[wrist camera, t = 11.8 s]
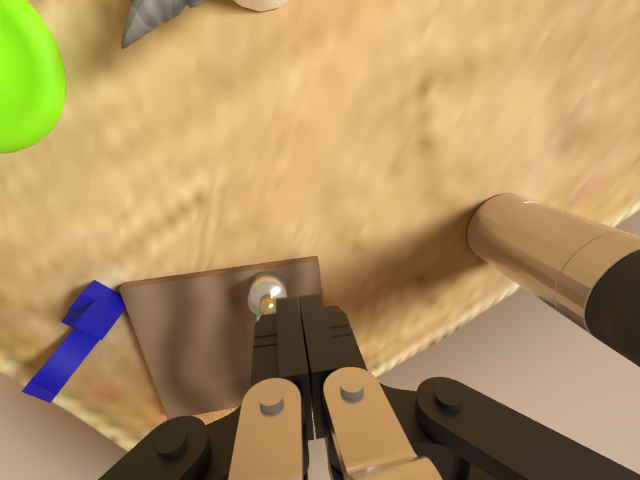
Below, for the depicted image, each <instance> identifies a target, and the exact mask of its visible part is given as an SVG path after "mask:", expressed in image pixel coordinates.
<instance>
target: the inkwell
mask: <svg viewBox="0 0 640 480" xmlns="http://www.w3.org/2000/svg"><path fill="white" fill-rule="evenodd" d="M203 1H204V0H132V1H131V3H130V7H129V10H128V14H127V17H126V21H125V26H124V31H123V36H122V44H121V47H122V49H123V48H126V47H127V46H129V45H131V44H132V43H134V42H135V41H137V40H138V39H140V38H141V37H142V36H144V35H145V34H147V33H148V32H150V31H152V30H153V29H155V28H156V27H157V26H158V25H159V24H160V23H162V22H166V21H168V20H170V19H172V18H174V17H176V16H177V15H179V14H180V13H181V12H182V10H183V9H184V7H185V5H188V6H189V7H190V8H192V7H195V6H197V5H199V4H200V3H202V2H203ZM233 1H235V2H236V3H237V4H239V5H240V6H242V7H245V8H249V9H253V10H256V11H260V12H262V11H266V10H271V9H276V8H280V7H281V6H282V5H284V4H285V3H286V2H288V1H289V0H233Z"/></svg>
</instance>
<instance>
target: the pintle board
mask: <svg viewBox="0 0 640 480" xmlns="http://www.w3.org/2000/svg"><path fill="white" fill-rule="evenodd" d="M266 271H270V272H275V273H277V274H279V275H280V276H281V277H282V278H283V279H284V281H285V283H286V291H287V297H292V296H297V300H298V306H299V296H300V295H308V294H317V293H320V296H321V300H322V291H321V280H320V270H319V260H318V257H317V256H313V257H306V258H298V259H291V260H284V261H277V262H269V263H262V264H255V265H248V266H240V267H233V268H226V269H219V270H211V271H204V272H197V273H190V274H183V275H175V276H168V277H161V278H154V279H146V280H139V281H132V282H125V283H124V284H123V285H122V286H121V287H120V288H119V290H120V293H121V296H122V298H123V301H124V304H125V306H126V309H127V312H128V314H129V317H130V320H131V323H132V325H133V328H134V331H135V333H136V336H137V339H138V341H139V344H140V347H141V349H142V352H143V355H144V357H145V360H146V363H147V366H148V368H149V371H150V374H151V376H152V379H153V382H154V384H155V387H156V390H157V392H158V395H159V398H160V401H161V403H162V406H163V409H164V411H165V414H166V417H167V419H168V420H169V419H172V418H175V417H179V416H191V415H196V414H202V413H207V412H213V411H218V410H224V409H229V408H235V407H239V406H240V405H241V404H242V401H243V398H244V396H245V395H246V393H247V392H248V391H249V390H250V384H251V369H252V354H253V339H254V326H255V324H256V323H257V315H256V314H254V313H253V312H252V311H251V310H250V308H249V306H248V294H249V285H250V282H251V280H252V279H253V278H254V277H255V276H256V275H257V274H259V273H261V272H266ZM322 304H323V302H322ZM299 313H300V308H299ZM311 407H312V405H311Z"/></svg>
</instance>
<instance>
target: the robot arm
mask: <svg viewBox="0 0 640 480" xmlns="http://www.w3.org/2000/svg"><path fill="white" fill-rule="evenodd" d="M467 240H468V244H469V247H470V248H471V250H472V251H473V252H474V253H475V254H476V255H477V256H478V257H480V258H481V259H483V260H484V261H486V262H487V263H489V264H490V265H491V266H493V267H494V268H495V269H497V270H498V271H500V272H501V273H503V274H504V275H506V276H507V277H508V278H510V279H511V280H513V281H514V282H516V283H517V284H519V285H520V286H521V287H523V288H524V289H526V290H527V291H529V292H530V293H532V294H533V295H534V296H536V297H537V298H539V299H540V300H542V301H543V302H545V303H546V304H548V305H549V306H550V307H552V308H553V309H555V310H556V311H558V312H559V313H560V314H562V315H563V316H565V317H566V318H568V319H570V320H571V321H572V322H574V323H575V324H577V325H578V326H579V327H581V328H582V329H584V330H585V331H587V332H588V333H590V334H591V335H592V336H594V337H595V338H597V339H598V340H600V341H601V342H603V343H604V344H606V345H607V346H609V347H610V348H612V349H613V350H615V351H616V352H618V353H619V354H621V355H622V356H624V357H625V358H627V359H628V360H630V361H632V362H633V363H634V364H636V365H638V366H639V367H640V236H637V235H634V234H630V233H628V232H625V231H622V230H618V229H616V228H613V227H610V226H607V225H604V224H601V223H598V222H595V221H592V220H589V219H586V218H583V217H580V216H577V215H574V214H571V213H568V212H565V211H562V210H560V209H557V208H554V207H551V206H548V205H545V204H542V203H539V202H536V201H533V200H530V199H527V198H524V197H521V196H518V195H515V194H501V195H498V196H495V197H493V198H491V199H489V200H488V201H486V202H485V203H484V204H482V205H481V206H480V207H479V208H478V210H477V211H476V212H475V213H474V215H473V217H472V218H471V221H470V223H469V226H468V231H467ZM299 308H300V313H299ZM311 405H312V409H311ZM312 412H313V419H314V426H315V433H316V439H319V438H325V443H326V448H327V459H328V470H329V474H330V478H331V480H640V474H638V473H636V472H634V471H632V470H630V469H628V468H626V467H624V466H622V465H620V464H618V463H616V462H614V461H612V460H611V459H609V458H606V457H605V456H603V455H601V454H599V453H597V452H595V451H593V450H591V449H589V448H587V447H585V446H583V445H581V444H579V443H577V442H575V441H573V440H571V439H570V438H568V437H566V436H564V435H562V434H560V433H558V432H556V431H554V430H552V429H550V428H548V427H546V426H544V425H542V424H540V423H538V422H536V421H534V420H532V419H531V418H529V417H526V416H525V415H523V414H521V413H519V412H517V411H515V410H513V409H511V408H509V407H507V406H505V405H503V404H501V403H499V402H497V401H495V400H493V399H491V398H490V397H488V396H486V395H484V394H482V393H480V392H478V391H476V390H474V389H472V388H470V387H468V386H466V385H464V384H462V383H460V382H458V381H456V380H453V379H450V378H445V377H433V378H429V379H427V380H425V381H423V382H422V383H421V384H420V385H419V387H418V389H417V391H409V390H400V389H395V388H391V387H387V386H385V385H383V384H381V383H379V382H378V380H377V379H376V378H375V376H374V375H372V374H371V373H370V372H368V370H367V368H366V366H365V363H364V360H363V358H362V355H361V353H360V350H359V347H358V345H357V342H356V339H355V337H354V335H353V332H352V329H351V326H350V324H349V321H348V318H347V316H346V314H345V313H344V312H343V311H342V310H341V309H340V308H338V307H337V306H330V307H323V304H322V300H321V296H320V293H317V294H308V295H300V296H299V306H298V300H297V296H292V297H284V298H276V313H275V314H267V315H261V317H260V318H259V320H258V321H257V323H256V324H255V326H254V339H253V354H252V369H251V384H250V390H249V391H248V392H247V393H246V395H245V396H244V398H243V401H242V404H241V405H240V406H239V407H238V408H237V409H236V410H235V411H233V412H232V413H230V414H229V415H227V416H225V417H223V418H221V419H219V420H216V421H214V422H212V423H210V424H208V425H205V424H204V422H203V421H202V420H200V419H199V418H197V417H194V416H179V417H175V418H172V419H170V420H167V421H166V422H164V423H162V424H160V425H159V426H157V427H156V428H155V429H154V430H152V431H151V432H150V433H149V434H148V435H147V436H146V437H145V438H144V439H142V440H141V441H140V442H139V443H138V444H137V445H136V446H135V447H134V448H133V449H131V450H130V451H129V452H128V453H127V454H126V455H125V456H124V457H123V458H121V459H120V460H119V461H118V462H117V463H116V464H115V465H114V466H113V467H112V468H110V469H109V470H108V471H107V472H106V473H105V474H104V475H103V476H102V477H100V478H99V479H98V480H308V467H309V450H308V440H314V434H313V421H312Z"/></svg>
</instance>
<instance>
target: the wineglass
mask: <svg viewBox="0 0 640 480" xmlns="http://www.w3.org/2000/svg"><path fill="white" fill-rule="evenodd" d="M65 95H66V89H65V73H64V67H63V64H62V61H61V58H60V54H59V51H58V48H57V45H56V42H55V41H54V39H53V37H52V36H51V34H50V32H49V30H48V29H47V27H46V25H45V23H44V22H43V20H42V18H41V17H40V15H39V14H38V13H37V12H36V11H35V10H34V8H33V7H32V6H31V5H30V4H29V3H28V2H27V0H0V153H10V152H16V151H19V150H21V149H24V148H27V147H30V146H32V145H35V144H36V143H37V142H38V141H40V140H41V139H42V138H43V137H45V136H46V135H47V134H48V133H50V132H51V130H52V128H53V127H54V125H55V124H56V122H57V120H58V119H59V117H60V116H61V112H62V108H63V104H64V99H65Z"/></svg>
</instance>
